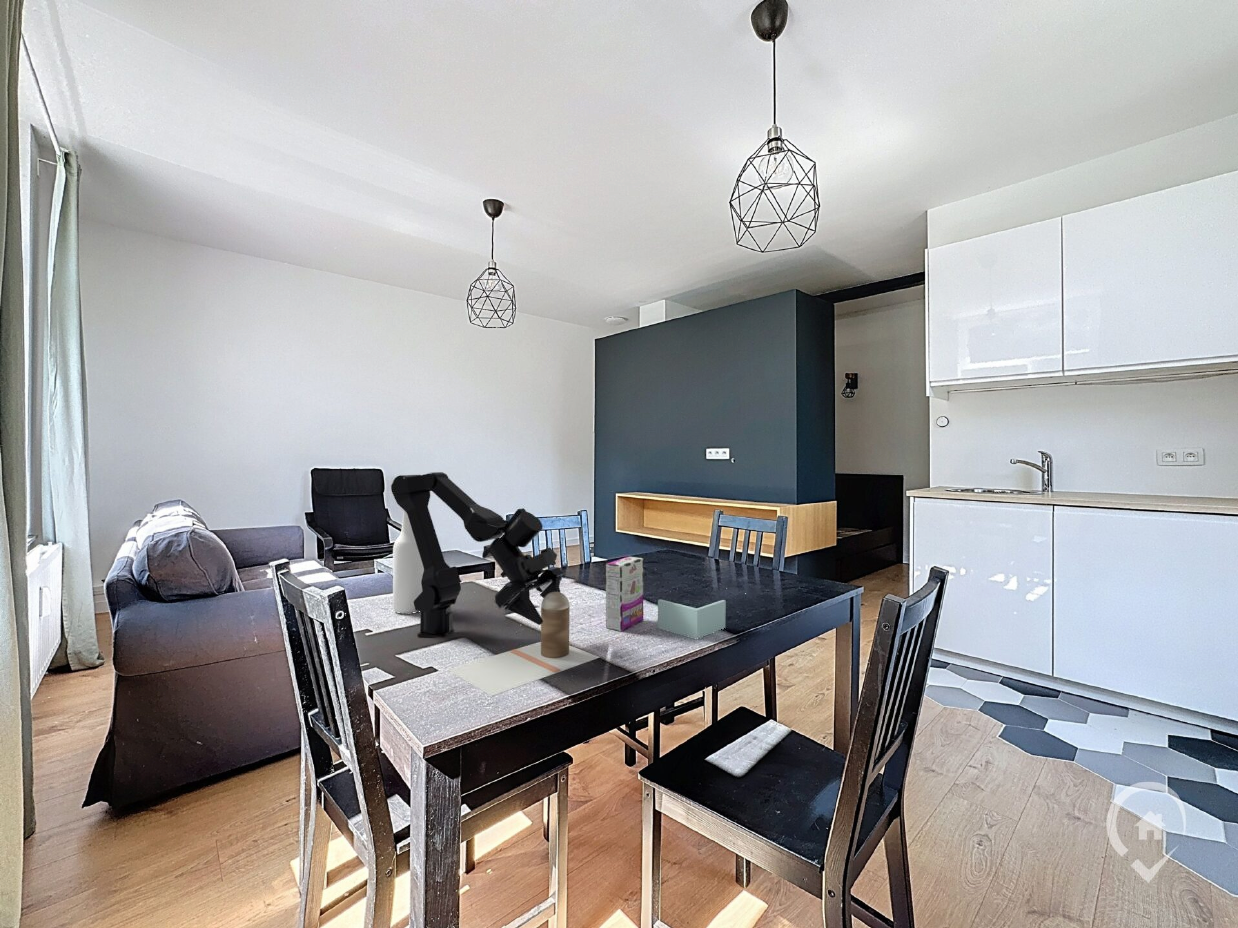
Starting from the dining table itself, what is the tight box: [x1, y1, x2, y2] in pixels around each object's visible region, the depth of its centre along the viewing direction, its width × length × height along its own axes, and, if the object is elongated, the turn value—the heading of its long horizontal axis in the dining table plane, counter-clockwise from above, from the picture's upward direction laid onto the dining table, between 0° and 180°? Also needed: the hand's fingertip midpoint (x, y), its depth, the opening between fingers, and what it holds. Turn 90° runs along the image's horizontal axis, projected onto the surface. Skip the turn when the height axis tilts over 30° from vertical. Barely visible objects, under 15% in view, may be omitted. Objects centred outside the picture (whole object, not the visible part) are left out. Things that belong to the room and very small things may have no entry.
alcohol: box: [392, 509, 424, 613], centre depth 148 cm, size 9×9×30 cm
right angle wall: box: [657, 599, 727, 640], centre depth 135 cm, size 12×12×8 cm
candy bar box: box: [605, 556, 644, 632], centre depth 137 cm, size 11×5×16 cm, turn 148°
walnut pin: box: [540, 591, 571, 658], centre depth 115 cm, size 6×6×13 cm
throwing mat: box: [446, 641, 601, 697], centre depth 109 cm, size 26×16×1 cm, turn 135°
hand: (553, 617), depth 115 cm, fingers open, 9 cm apart
